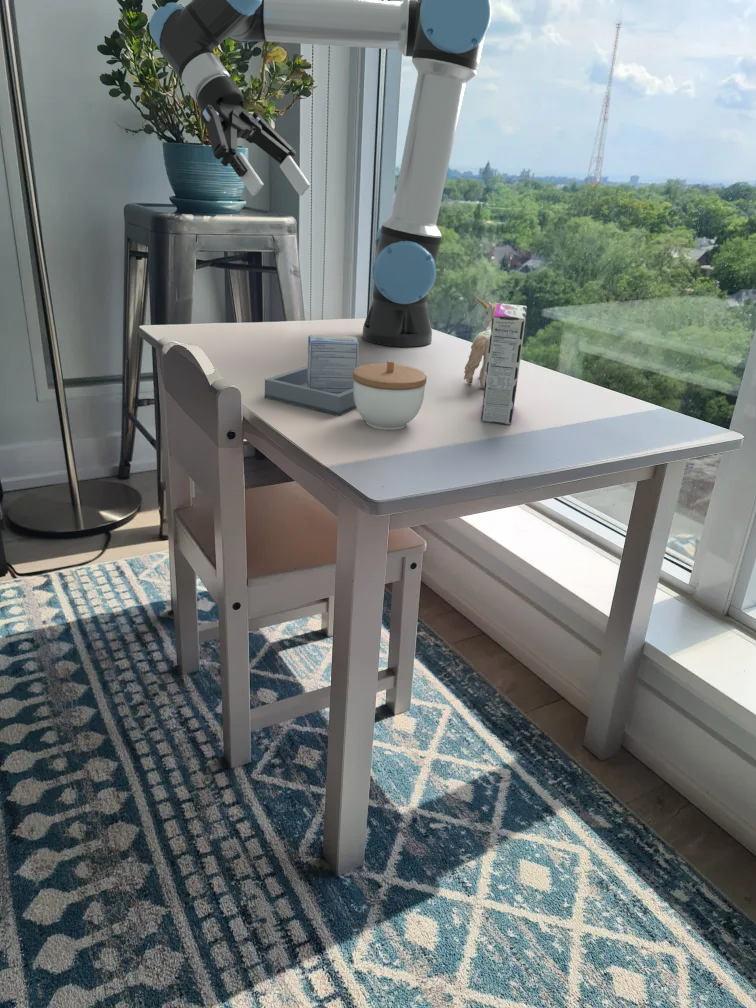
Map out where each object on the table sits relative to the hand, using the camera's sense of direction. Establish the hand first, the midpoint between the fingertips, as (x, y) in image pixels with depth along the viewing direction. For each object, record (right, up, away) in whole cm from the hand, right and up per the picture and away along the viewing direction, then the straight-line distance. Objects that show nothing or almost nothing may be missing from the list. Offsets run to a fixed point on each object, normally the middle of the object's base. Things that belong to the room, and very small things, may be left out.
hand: (282, 190), depth 133 cm
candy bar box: (+36, -40, -11) cm, 55 cm away
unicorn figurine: (+34, -32, +8) cm, 47 cm away
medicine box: (+9, -36, -7) cm, 38 cm away
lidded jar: (+18, -43, -19) cm, 50 cm away
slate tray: (+9, -36, -7) cm, 38 cm away
